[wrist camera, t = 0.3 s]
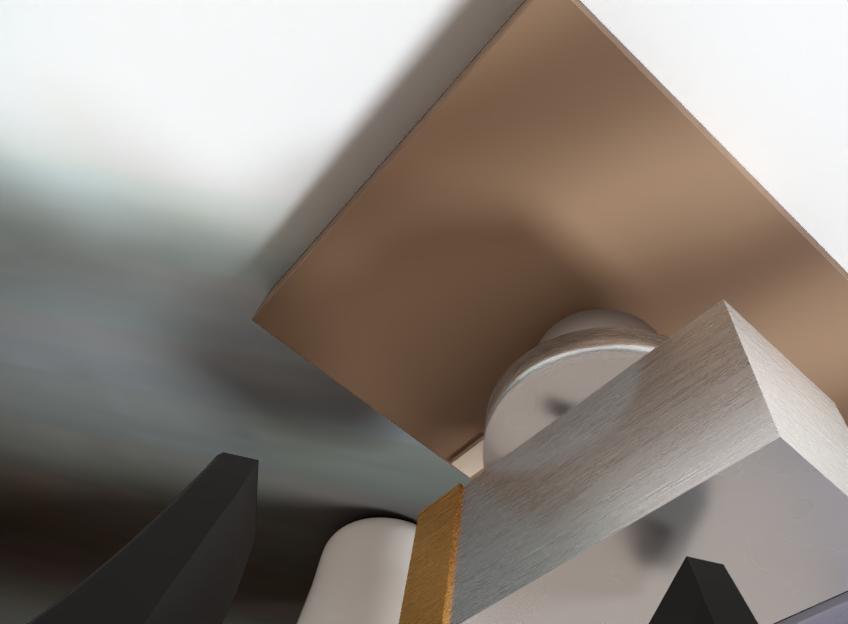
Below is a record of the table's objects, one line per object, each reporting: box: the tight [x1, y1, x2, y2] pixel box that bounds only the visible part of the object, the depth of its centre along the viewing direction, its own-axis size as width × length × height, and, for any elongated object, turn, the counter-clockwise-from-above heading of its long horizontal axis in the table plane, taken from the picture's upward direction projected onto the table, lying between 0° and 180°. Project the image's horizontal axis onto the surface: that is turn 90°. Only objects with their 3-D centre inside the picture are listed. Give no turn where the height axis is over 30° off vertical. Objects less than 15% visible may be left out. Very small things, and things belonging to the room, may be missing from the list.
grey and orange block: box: [399, 299, 848, 624], centre depth 16 cm, size 6×9×5 cm, turn 140°
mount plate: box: [252, 0, 848, 480], centre depth 20 cm, size 16×12×4 cm
